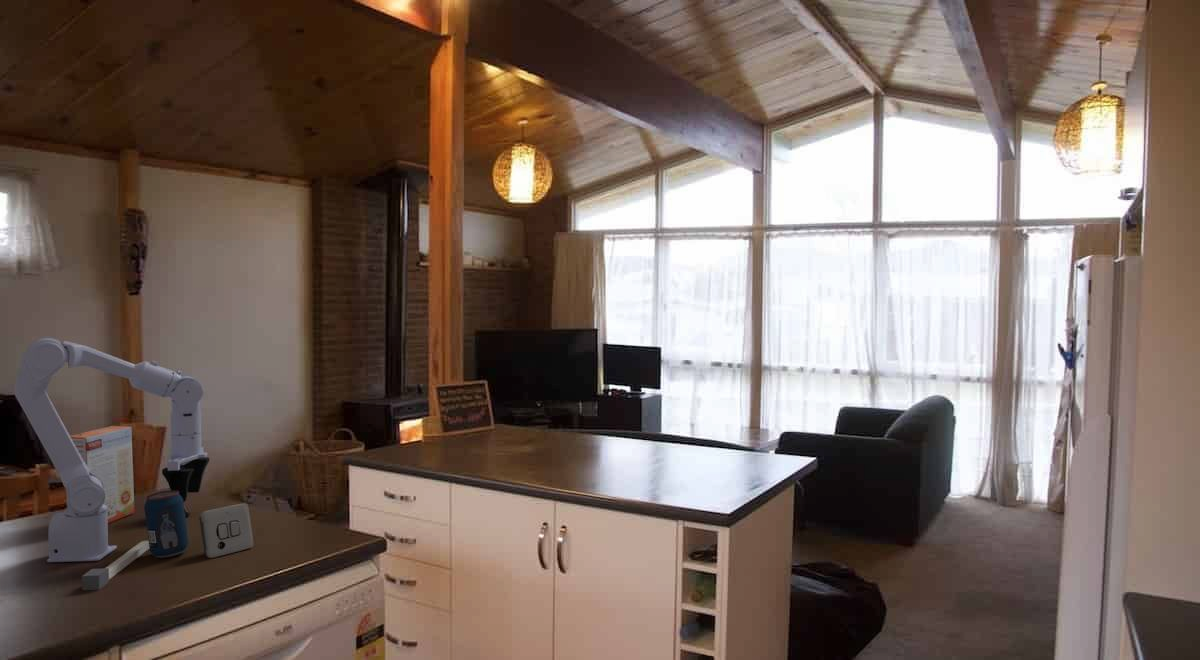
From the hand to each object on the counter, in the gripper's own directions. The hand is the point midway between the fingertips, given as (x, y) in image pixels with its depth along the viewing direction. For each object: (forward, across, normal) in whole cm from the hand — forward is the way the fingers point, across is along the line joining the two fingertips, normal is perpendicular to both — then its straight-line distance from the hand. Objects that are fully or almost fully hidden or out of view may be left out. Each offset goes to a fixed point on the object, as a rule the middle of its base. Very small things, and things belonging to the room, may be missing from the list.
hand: (186, 496), depth 168 cm
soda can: (+9, -9, 0) cm, 13 cm away
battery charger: (+10, +20, +8) cm, 24 cm away
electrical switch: (+10, -8, -10) cm, 16 cm away
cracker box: (+10, +16, +24) cm, 31 cm away
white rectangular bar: (+9, -16, +6) cm, 19 cm away
